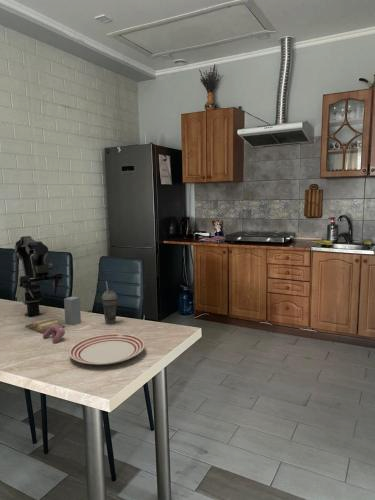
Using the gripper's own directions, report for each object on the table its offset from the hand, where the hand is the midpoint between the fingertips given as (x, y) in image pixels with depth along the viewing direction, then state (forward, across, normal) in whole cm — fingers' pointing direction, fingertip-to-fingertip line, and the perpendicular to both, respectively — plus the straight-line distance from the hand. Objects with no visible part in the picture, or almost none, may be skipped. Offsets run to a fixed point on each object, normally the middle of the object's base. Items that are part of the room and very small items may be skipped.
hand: (44, 296), depth 167 cm
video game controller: (+22, 0, -4) cm, 22 cm away
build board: (+10, 0, +12) cm, 15 cm away
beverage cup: (+17, +27, +2) cm, 32 cm away
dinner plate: (+38, +13, -26) cm, 47 cm away
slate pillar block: (+11, +13, +10) cm, 20 cm away
